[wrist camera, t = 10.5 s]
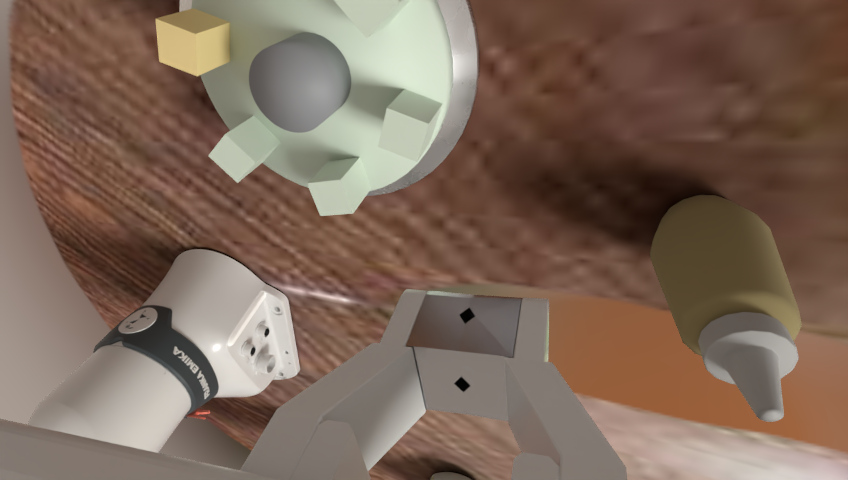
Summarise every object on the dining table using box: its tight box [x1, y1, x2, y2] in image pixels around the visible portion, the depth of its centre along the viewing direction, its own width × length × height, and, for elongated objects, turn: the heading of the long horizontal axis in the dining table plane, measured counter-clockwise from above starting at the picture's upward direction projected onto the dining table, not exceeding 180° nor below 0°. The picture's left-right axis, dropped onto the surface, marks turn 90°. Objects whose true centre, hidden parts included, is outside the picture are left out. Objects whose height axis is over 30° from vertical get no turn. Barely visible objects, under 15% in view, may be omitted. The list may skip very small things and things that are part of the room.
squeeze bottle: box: [650, 195, 802, 422], centre depth 31 cm, size 8×8×18 cm
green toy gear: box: [156, 0, 453, 216], centre depth 35 cm, size 21×21×6 cm
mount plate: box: [179, 0, 479, 196], centre depth 37 cm, size 24×24×3 cm
